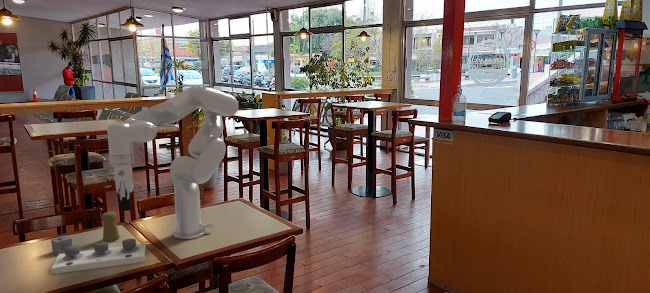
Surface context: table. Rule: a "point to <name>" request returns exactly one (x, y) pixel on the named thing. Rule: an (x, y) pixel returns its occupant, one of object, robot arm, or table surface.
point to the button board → (99, 259)
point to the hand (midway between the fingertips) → (125, 210)
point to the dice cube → (60, 244)
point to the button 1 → (72, 250)
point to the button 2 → (129, 243)
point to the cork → (110, 227)
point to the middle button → (101, 247)
